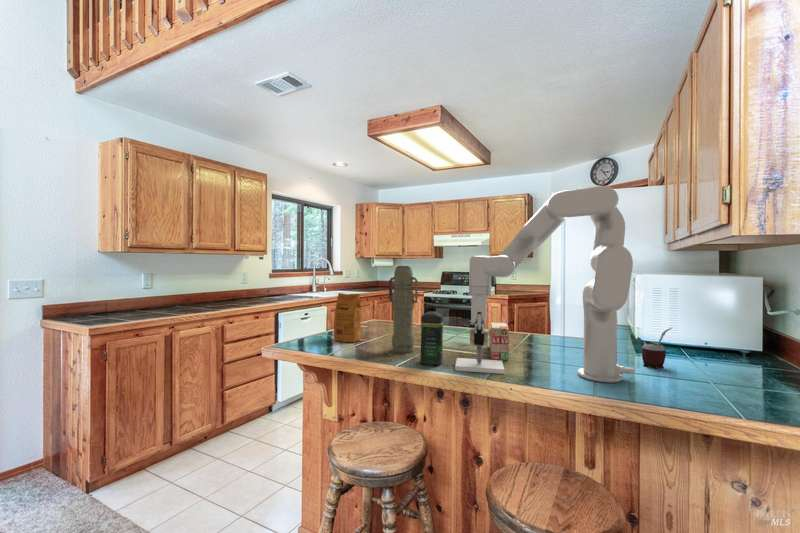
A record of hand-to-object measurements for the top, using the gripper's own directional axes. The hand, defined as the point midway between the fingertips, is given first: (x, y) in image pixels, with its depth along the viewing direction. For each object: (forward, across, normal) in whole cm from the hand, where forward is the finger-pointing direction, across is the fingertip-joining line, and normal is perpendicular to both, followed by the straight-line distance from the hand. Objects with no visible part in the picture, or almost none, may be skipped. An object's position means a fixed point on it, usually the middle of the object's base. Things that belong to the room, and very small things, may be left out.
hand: (478, 342), depth 129 cm
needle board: (+9, 0, 0) cm, 9 cm away
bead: (+1, 0, 0) cm, 1 cm away
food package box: (+9, -23, +8) cm, 26 cm away
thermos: (+9, -18, -31) cm, 37 cm away
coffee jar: (+9, -2, -17) cm, 19 cm away
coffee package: (+10, -30, -60) cm, 68 cm away
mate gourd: (+8, -16, +61) cm, 64 cm away
